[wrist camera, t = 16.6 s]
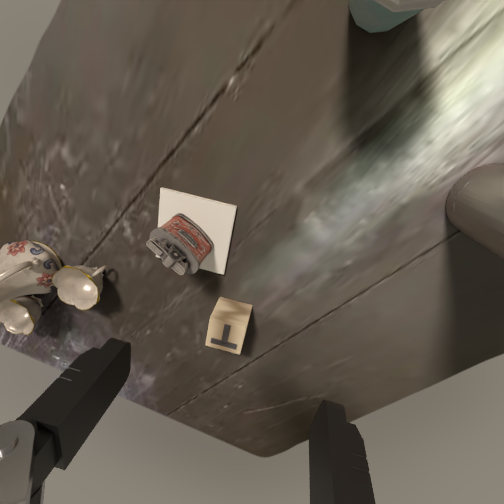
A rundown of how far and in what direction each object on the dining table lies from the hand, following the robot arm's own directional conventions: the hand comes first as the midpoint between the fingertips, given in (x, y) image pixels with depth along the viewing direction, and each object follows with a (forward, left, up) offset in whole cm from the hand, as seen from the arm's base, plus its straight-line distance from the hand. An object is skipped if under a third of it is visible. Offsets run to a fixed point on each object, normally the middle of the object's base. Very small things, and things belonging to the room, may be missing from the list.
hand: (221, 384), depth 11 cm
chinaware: (+39, +25, -34) cm, 57 cm away
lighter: (+12, +9, -33) cm, 36 cm away
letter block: (+3, +23, -33) cm, 41 cm away
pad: (+12, +9, -33) cm, 36 cm away
